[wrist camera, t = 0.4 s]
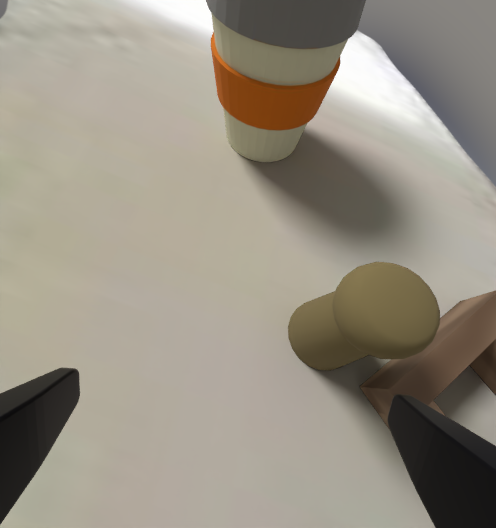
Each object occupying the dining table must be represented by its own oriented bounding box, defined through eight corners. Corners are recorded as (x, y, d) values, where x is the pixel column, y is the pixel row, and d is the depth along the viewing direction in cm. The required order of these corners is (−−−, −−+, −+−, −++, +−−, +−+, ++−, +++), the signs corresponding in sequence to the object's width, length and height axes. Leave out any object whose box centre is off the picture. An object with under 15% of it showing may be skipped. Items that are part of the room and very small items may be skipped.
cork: (355, 307, 23) (454, 258, 13) (354, 377, 21) (476, 380, 11) (292, 294, 23) (344, 234, 13) (284, 362, 21) (340, 352, 11)
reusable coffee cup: (207, 103, 33) (196, -89, 19) (298, 102, 35) (346, -74, 21) (217, 176, 28) (213, -9, 14) (322, 171, 30) (405, 1, 16)
